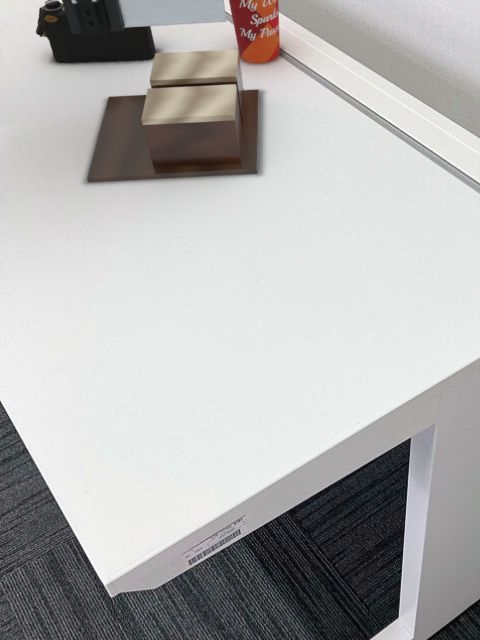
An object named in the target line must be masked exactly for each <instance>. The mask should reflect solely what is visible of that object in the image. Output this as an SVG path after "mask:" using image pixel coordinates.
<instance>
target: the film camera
mask: <svg viewBox="0 0 480 640" xmlns="http://www.w3.org/2000/svg"><path fill="white" fill-rule="evenodd" d="M35 33H36V35H37V36H39V37H40V38H42V37H44V38H47V40H48V42H49V46H50V48H51V52H52V56H53V59H54V61H55V62H56V63H58V64H62V62H63V61H64V62H65V63H67V64H80V63H82V64H83V63H84V64H85V63H87V64H88V63H112V62H114V63H115V62H116V63H117V62H144V61H149V60H154V57H155V53H157V51H156V44H155V41H154V35H153V32H152V26H143V27H124V31H114V32H110V33H109V34H108V35H98V36H84V35H82V33H78V34H72V31H71V28H70V25H69V22H68V18H67V15H66V12H65V9H64V6H63V2H61V1H59V0H46V1H45V2H44V5H43V6H40V7H39V8H38V19H37V26H36V29H35Z"/></svg>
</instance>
